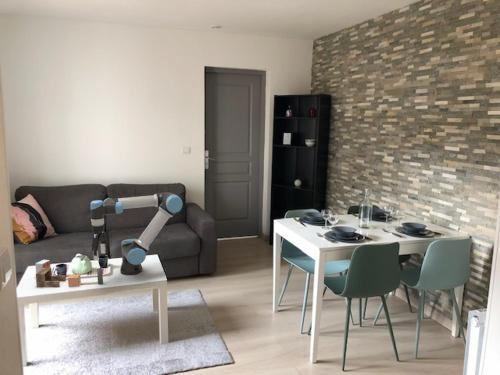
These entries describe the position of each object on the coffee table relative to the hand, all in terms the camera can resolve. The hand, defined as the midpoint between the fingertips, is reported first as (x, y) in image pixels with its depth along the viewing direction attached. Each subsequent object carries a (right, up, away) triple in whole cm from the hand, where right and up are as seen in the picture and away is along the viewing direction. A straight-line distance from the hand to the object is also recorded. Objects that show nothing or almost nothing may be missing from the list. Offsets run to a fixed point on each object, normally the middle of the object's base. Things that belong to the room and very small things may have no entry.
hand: (99, 256), depth 268 cm
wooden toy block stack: (-32, -18, +2) cm, 37 cm away
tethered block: (-9, -18, +2) cm, 21 cm away
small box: (-44, -16, +15) cm, 49 cm away
